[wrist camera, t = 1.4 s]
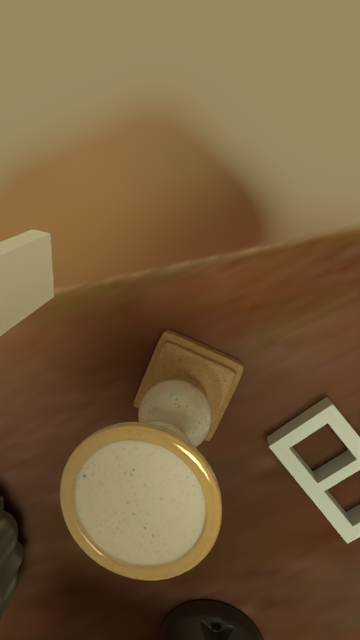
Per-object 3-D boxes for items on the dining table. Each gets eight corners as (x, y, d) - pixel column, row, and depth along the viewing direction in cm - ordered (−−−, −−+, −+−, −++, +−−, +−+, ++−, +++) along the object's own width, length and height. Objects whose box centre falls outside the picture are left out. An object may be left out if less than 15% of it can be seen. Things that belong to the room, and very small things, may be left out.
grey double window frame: (404, 492, 41) (415, 505, 39) (340, 528, 43) (347, 543, 40) (326, 396, 41) (332, 404, 39) (266, 437, 43) (268, 446, 40)
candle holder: (210, 436, 44) (185, 619, 21) (135, 401, 45) (29, 537, 22) (245, 362, 42) (260, 472, 19) (166, 327, 43) (85, 389, 20)
